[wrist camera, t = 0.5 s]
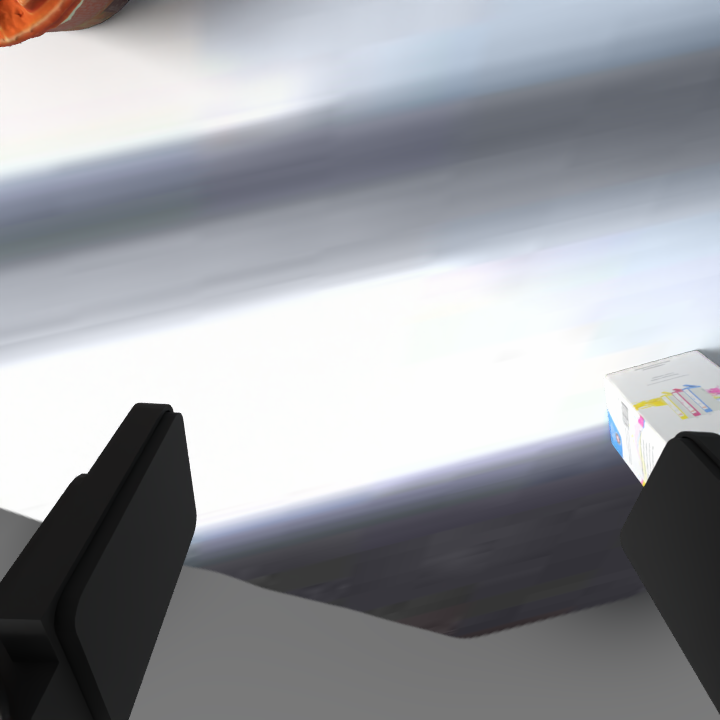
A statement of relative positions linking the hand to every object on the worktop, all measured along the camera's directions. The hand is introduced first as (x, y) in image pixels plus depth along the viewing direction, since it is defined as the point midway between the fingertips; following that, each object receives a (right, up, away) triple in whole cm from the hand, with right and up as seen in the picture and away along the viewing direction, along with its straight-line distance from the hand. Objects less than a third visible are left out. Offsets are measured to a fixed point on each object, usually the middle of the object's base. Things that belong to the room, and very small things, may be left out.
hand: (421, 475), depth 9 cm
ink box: (+26, -1, +36) cm, 44 cm away
